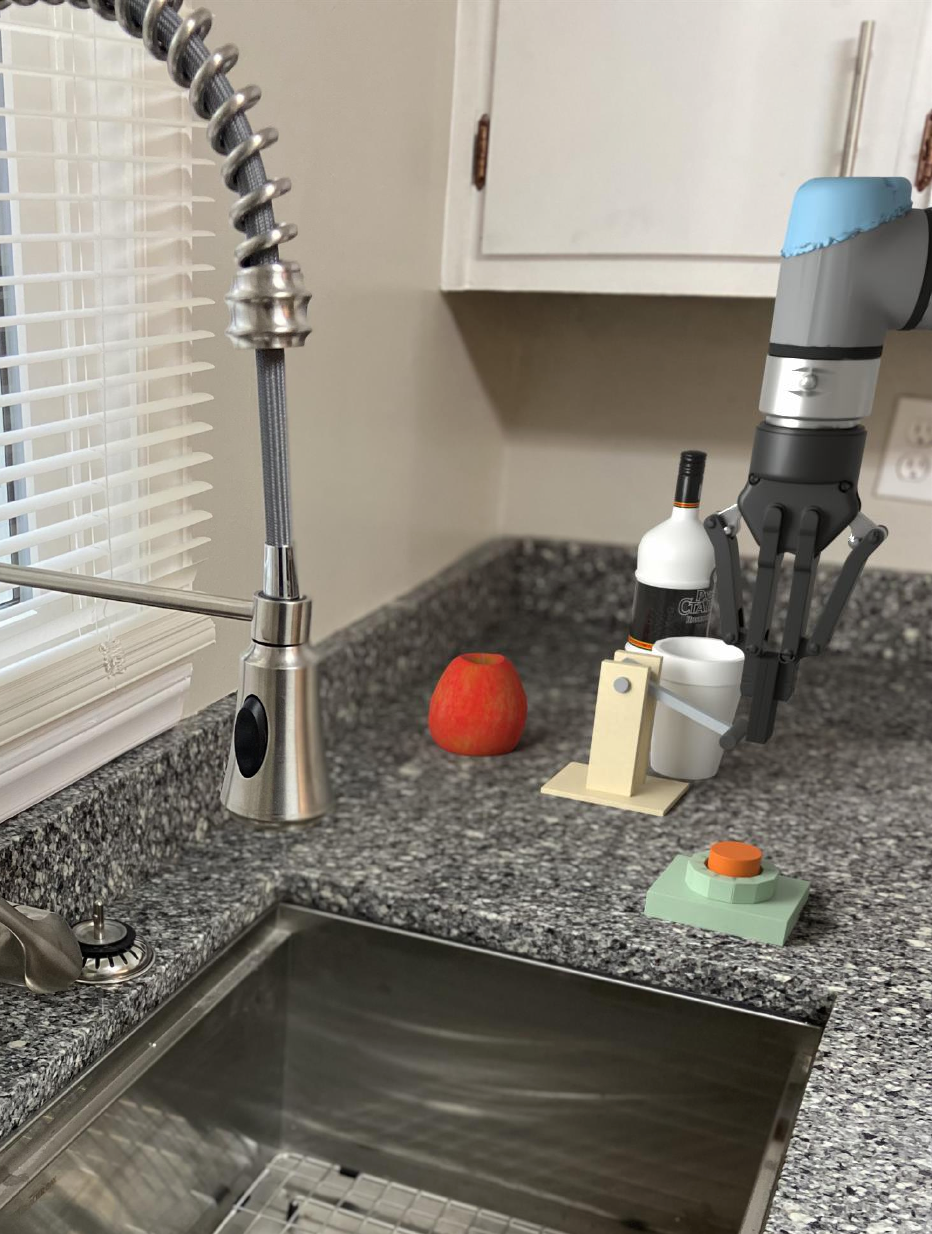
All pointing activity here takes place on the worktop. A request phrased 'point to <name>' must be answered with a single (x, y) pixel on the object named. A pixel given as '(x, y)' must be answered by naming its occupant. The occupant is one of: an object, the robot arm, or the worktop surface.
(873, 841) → the worktop surface
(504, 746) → the apple
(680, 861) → the control block
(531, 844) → the worktop surface
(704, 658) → the foam cup
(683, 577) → the vodka
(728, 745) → the lever
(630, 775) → the bracket
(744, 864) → the button
